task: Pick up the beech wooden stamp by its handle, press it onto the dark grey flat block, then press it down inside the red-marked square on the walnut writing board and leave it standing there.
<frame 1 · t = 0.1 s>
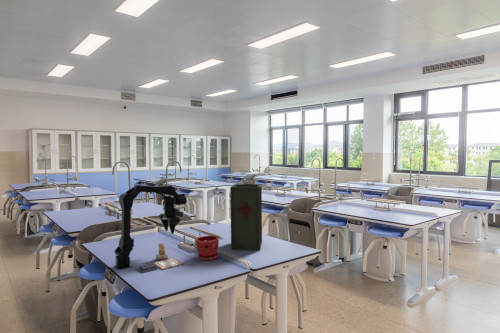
hand: (169, 232, 196), 14 cm above the table, fingers open, 9 cm apart
plant pot: (207, 258, 192), on the table
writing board: (167, 264, 182), on the table
dark grey flat block: (147, 269, 174), on the table
stamp: (162, 259, 191), on the table
first aid box: (247, 246, 216), on the table
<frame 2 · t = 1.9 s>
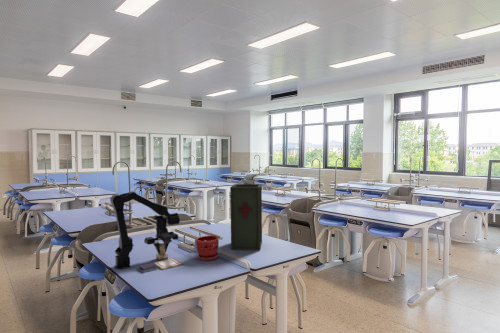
hand: (161, 253, 191), 4 cm above the table, fingers closed on stamp, 4 cm apart
stamp: (162, 259, 191), on the table, touching gripper
everything else where it was.
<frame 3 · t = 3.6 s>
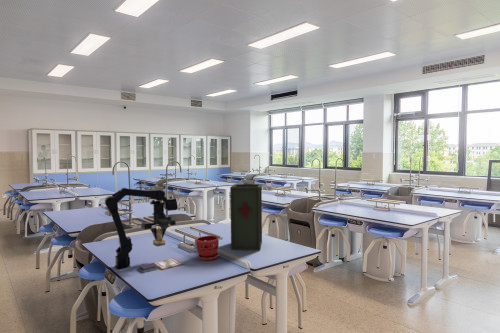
hand: (159, 238, 187), 13 cm above the table, fingers closed on stamp, 4 cm apart
stamp: (159, 244, 188), point 9 cm above the table, touching gripper
everything else where it was.
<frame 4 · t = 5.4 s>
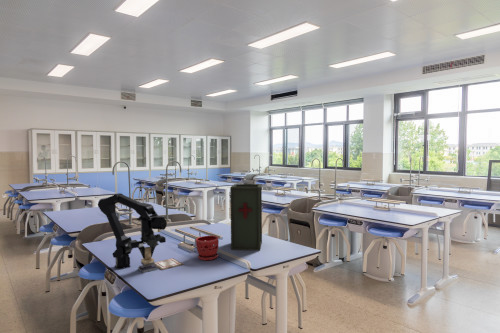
hand: (147, 257, 174), 6 cm above the table, fingers closed on stamp, 4 cm apart
stamp: (147, 264, 174), point 3 cm above the table, touching gripper
everything else where it was.
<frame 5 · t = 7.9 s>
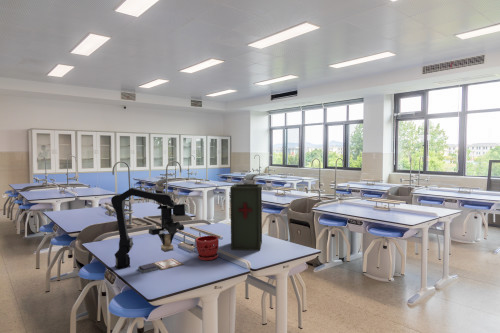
hand: (167, 244, 181), 11 cm above the table, fingers closed on stamp, 4 cm apart
stamp: (167, 250, 181), point 8 cm above the table, touching gripper
everything else where it was.
when the fingers open (4 cm above the table, at t = 9.2 s): stamp stays where it is, resting on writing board.
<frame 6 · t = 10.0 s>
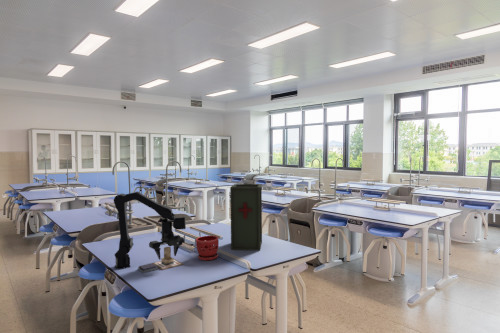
hand: (167, 257, 182), 4 cm above the table, fingers open, 9 cm apart
stamp: (167, 263, 182), resting on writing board
everything else where it was.
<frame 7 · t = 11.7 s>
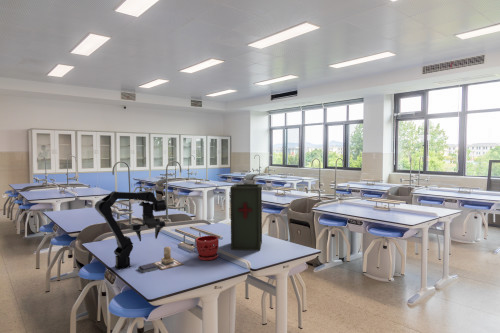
hand: (148, 240, 188), 12 cm above the table, fingers open, 9 cm apart
nothing on the table moved.
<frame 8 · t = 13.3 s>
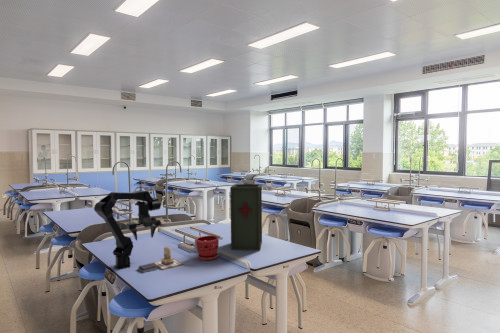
hand: (144, 238, 190), 12 cm above the table, fingers open, 9 cm apart
nothing on the table moved.
at the end: stamp 0.1 cm off-centre on the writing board, point 0.5 cm above the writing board's base; stamp tilted 0°; the gripper is holding nothing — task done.
